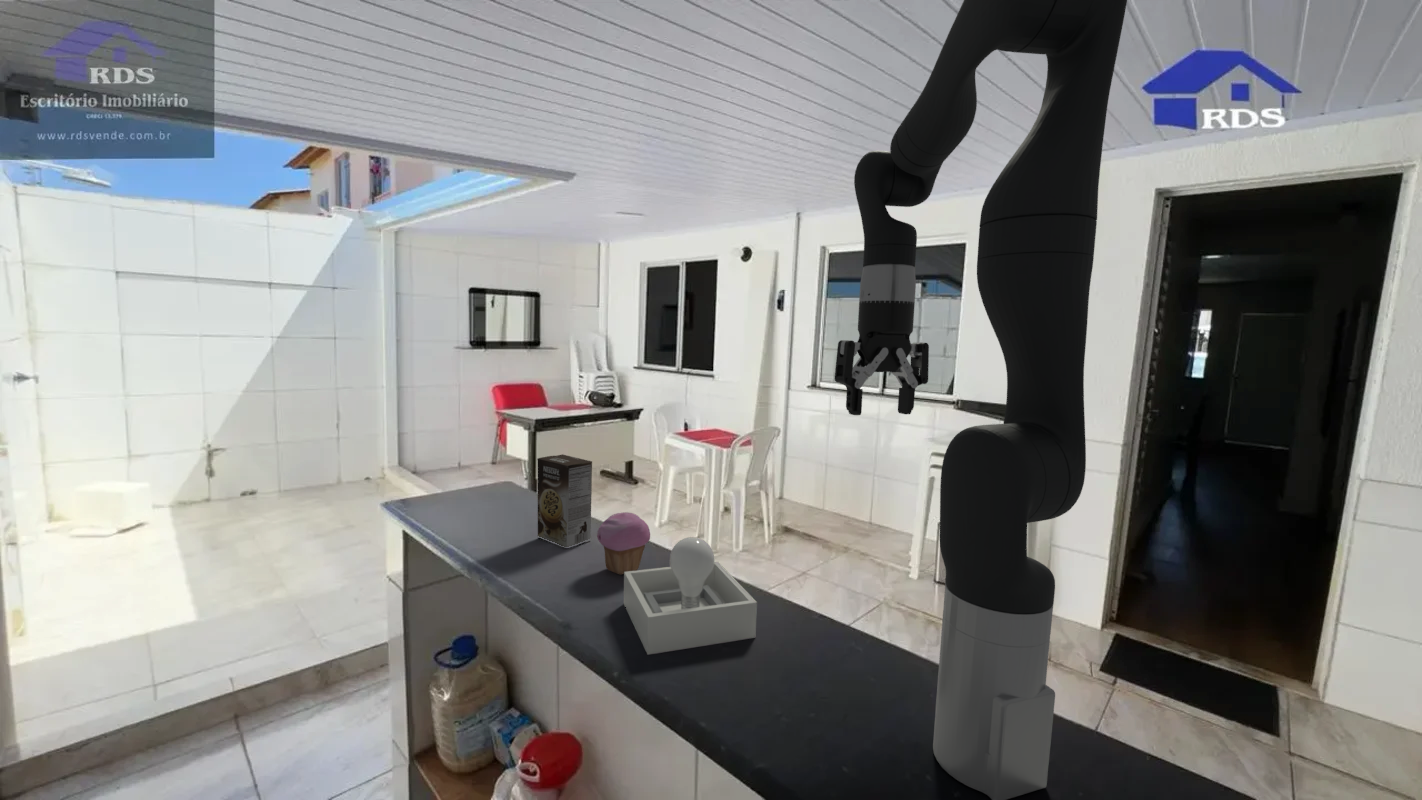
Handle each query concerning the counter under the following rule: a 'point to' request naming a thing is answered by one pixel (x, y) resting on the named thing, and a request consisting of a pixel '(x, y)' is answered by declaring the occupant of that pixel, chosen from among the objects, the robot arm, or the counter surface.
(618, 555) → the cupcake
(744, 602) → the walled box
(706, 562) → the lightbulb
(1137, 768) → the counter surface
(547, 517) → the coffee box
